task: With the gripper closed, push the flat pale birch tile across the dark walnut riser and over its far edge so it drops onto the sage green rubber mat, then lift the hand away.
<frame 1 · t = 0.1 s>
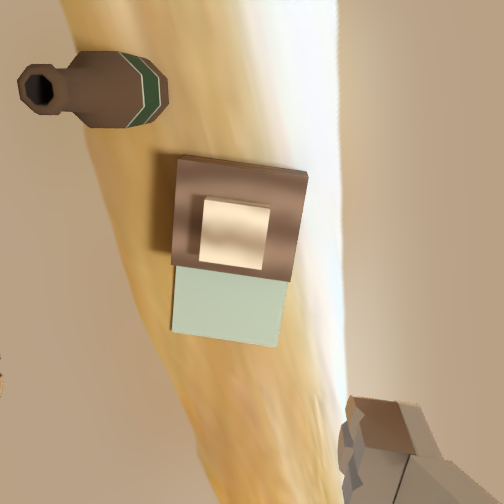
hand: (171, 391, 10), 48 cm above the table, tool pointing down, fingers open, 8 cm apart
birch tile: (235, 230, 55), point 4 cm above the table, touching walnut riser
walnut riser: (239, 214, 58), on the table
rubber mat: (228, 303, 63), on the table
beer bottle: (141, 91, 53), on the table
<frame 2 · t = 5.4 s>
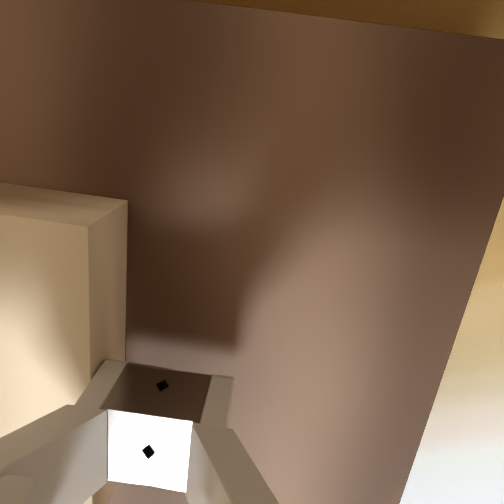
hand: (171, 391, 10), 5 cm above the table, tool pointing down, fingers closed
walnut riser: (192, 288, 15), on the table
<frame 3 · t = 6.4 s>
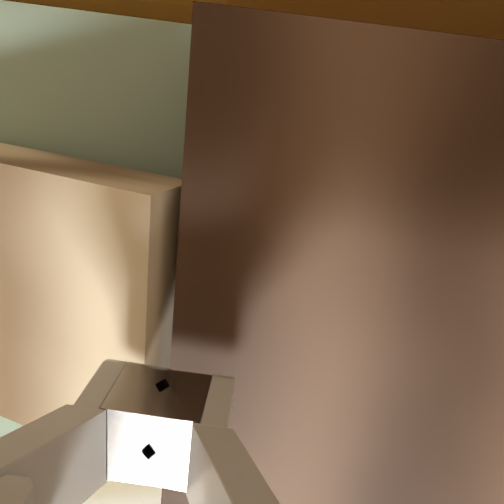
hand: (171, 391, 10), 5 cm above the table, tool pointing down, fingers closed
birch tile: (69, 284, 13), point 1 cm above the table, tilted 15°
walnut riser: (404, 318, 14), on the table
rubber mat: (15, 262, 15), on the table
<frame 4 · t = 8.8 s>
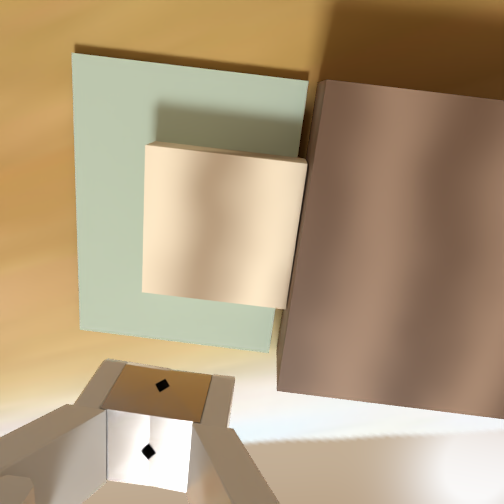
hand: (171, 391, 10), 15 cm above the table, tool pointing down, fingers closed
birch tile: (223, 221, 24), resting on rubber mat
walnut riser: (416, 246, 24), on the table
rubber mat: (182, 217, 25), on the table
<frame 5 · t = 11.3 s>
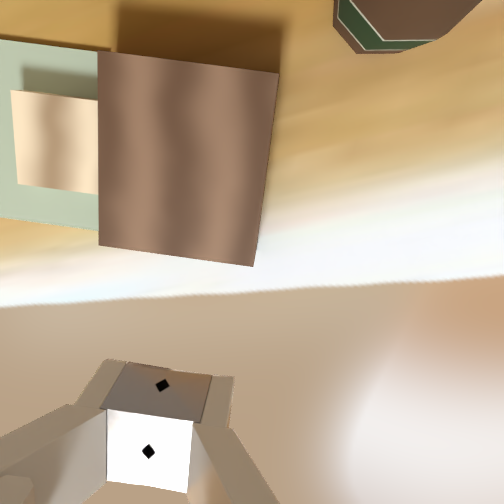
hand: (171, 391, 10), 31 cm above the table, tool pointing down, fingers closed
birch tile: (70, 142, 39), resting on rubber mat
walnut riser: (191, 159, 39), on the table
rubber mat: (46, 140, 39), on the table
beer bottle: (377, 5, 34), on the table
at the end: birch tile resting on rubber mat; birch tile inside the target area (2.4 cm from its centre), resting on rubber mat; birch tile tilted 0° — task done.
